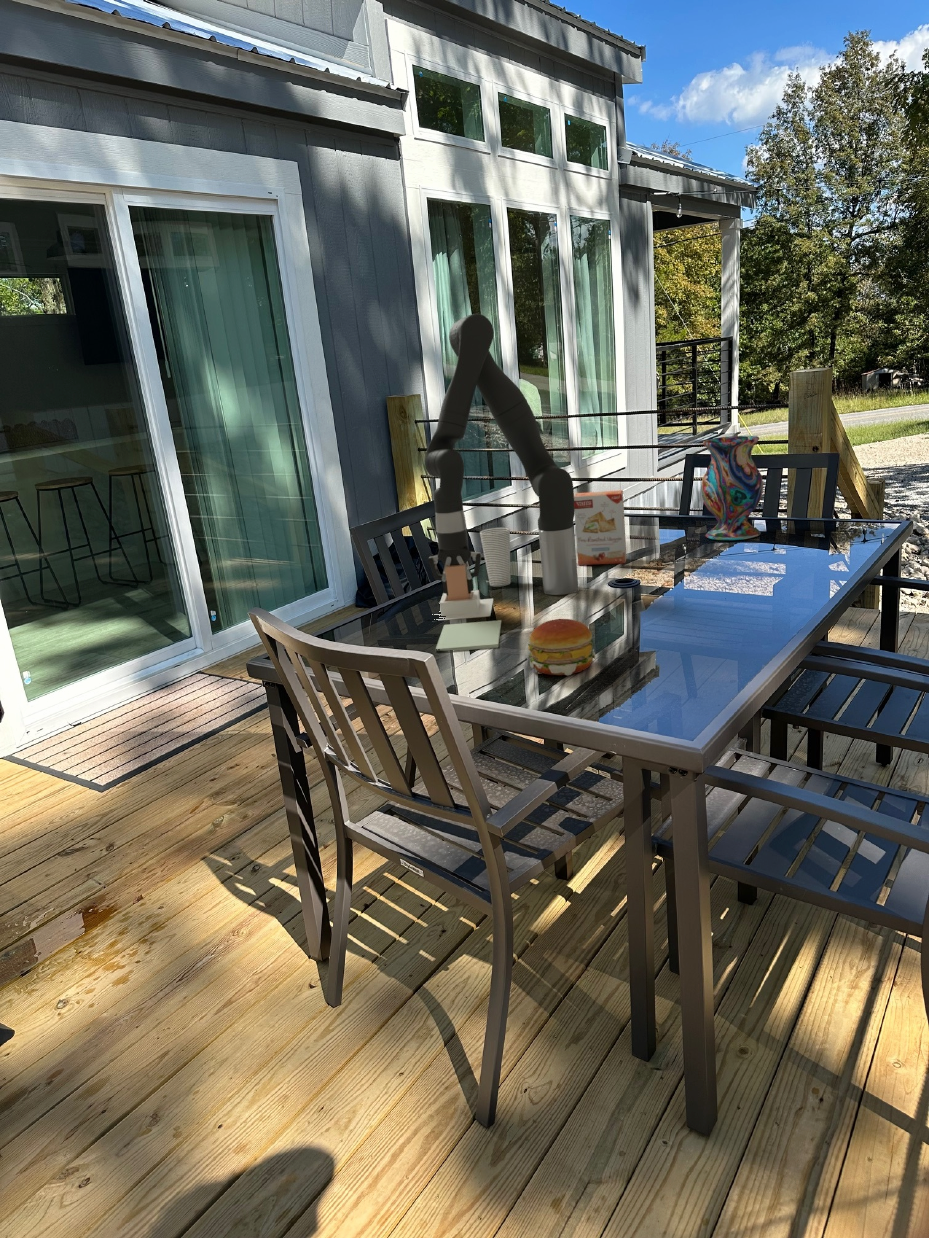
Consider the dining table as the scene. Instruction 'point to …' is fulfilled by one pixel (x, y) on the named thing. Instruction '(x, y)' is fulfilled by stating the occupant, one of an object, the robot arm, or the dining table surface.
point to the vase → (732, 487)
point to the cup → (497, 555)
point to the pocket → (465, 607)
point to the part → (457, 583)
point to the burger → (561, 647)
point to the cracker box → (600, 527)
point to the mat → (470, 636)
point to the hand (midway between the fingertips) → (459, 593)
